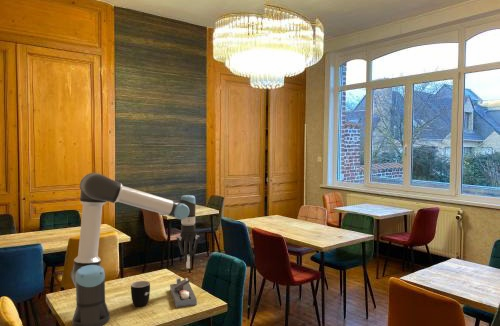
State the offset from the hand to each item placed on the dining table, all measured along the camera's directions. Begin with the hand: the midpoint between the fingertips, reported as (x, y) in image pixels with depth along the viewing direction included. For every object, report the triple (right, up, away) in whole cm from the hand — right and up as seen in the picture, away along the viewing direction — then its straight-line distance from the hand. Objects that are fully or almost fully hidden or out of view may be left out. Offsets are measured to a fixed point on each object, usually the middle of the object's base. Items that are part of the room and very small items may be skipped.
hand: (188, 267), depth 202 cm
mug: (-20, -13, -18) cm, 30 cm away
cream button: (+2, -10, -19) cm, 22 cm away
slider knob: (-5, -8, -1) cm, 10 cm away
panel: (-1, -12, -11) cm, 16 cm away
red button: (0, -11, -13) cm, 17 cm away
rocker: (-2, -6, -8) cm, 10 cm away
